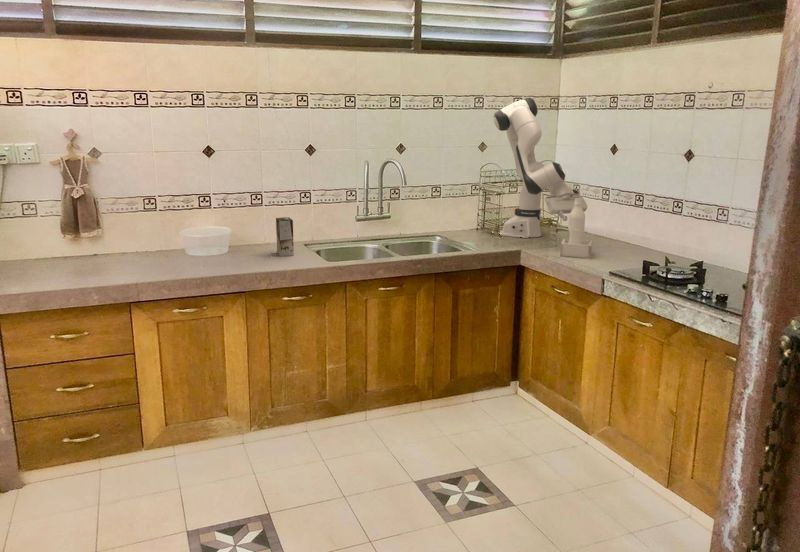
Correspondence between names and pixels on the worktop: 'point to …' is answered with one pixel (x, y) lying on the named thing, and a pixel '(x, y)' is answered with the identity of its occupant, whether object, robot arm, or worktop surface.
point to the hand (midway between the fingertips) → (573, 219)
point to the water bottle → (576, 223)
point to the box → (576, 249)
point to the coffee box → (284, 236)
